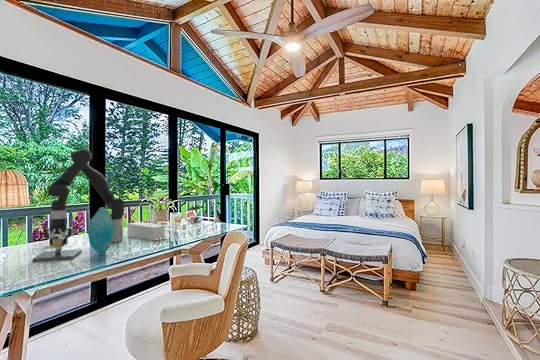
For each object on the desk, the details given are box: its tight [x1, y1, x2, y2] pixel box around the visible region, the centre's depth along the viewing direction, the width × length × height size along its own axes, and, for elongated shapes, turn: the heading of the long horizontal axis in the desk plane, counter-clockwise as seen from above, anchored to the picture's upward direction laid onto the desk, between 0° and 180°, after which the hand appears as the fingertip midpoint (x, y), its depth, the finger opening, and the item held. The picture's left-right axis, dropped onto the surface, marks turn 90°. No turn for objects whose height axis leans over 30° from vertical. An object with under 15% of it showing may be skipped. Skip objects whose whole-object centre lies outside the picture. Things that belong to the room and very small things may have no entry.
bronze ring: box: [51, 239, 66, 249], centre depth 172 cm, size 6×6×4 cm
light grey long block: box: [126, 221, 166, 241], centre depth 229 cm, size 32×11×11 cm, turn 62°
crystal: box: [87, 207, 114, 256], centre depth 179 cm, size 12×14×30 cm
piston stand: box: [31, 247, 82, 263], centre depth 172 cm, size 20×16×9 cm
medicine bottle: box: [53, 233, 69, 245], centre depth 203 cm, size 7×7×12 cm
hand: (58, 244), depth 172 cm, fingers closed on bronze ring, 6 cm apart
